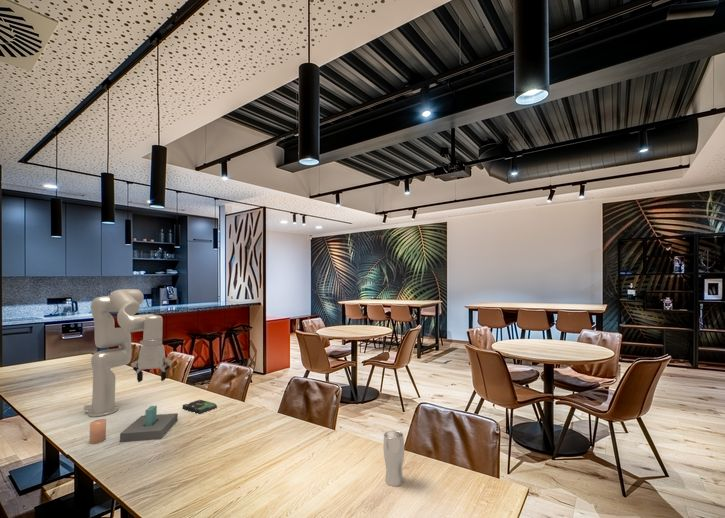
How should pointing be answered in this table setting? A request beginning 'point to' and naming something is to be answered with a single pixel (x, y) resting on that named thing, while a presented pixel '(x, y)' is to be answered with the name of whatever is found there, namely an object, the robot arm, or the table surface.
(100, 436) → the round terracotta peg
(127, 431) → the socket plate
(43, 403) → the table surface
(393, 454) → the beer glass
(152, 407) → the teal bar
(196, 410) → the disk drive
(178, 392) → the table surface
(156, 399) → the table surface
